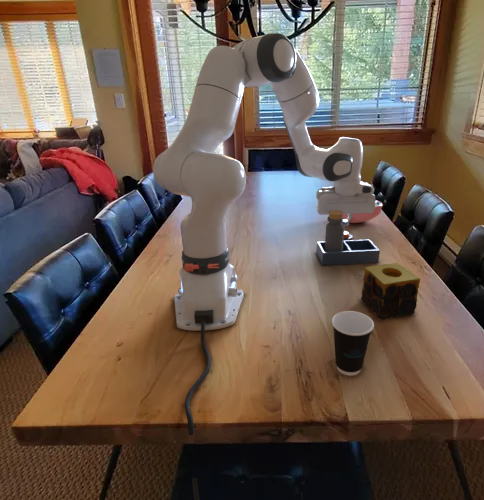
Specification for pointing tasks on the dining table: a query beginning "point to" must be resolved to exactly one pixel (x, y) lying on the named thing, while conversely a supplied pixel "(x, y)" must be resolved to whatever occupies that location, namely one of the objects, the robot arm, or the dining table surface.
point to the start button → (346, 234)
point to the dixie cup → (351, 340)
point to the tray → (349, 253)
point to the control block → (349, 237)
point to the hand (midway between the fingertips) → (344, 225)
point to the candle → (390, 290)
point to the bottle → (334, 231)
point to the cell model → (365, 214)
